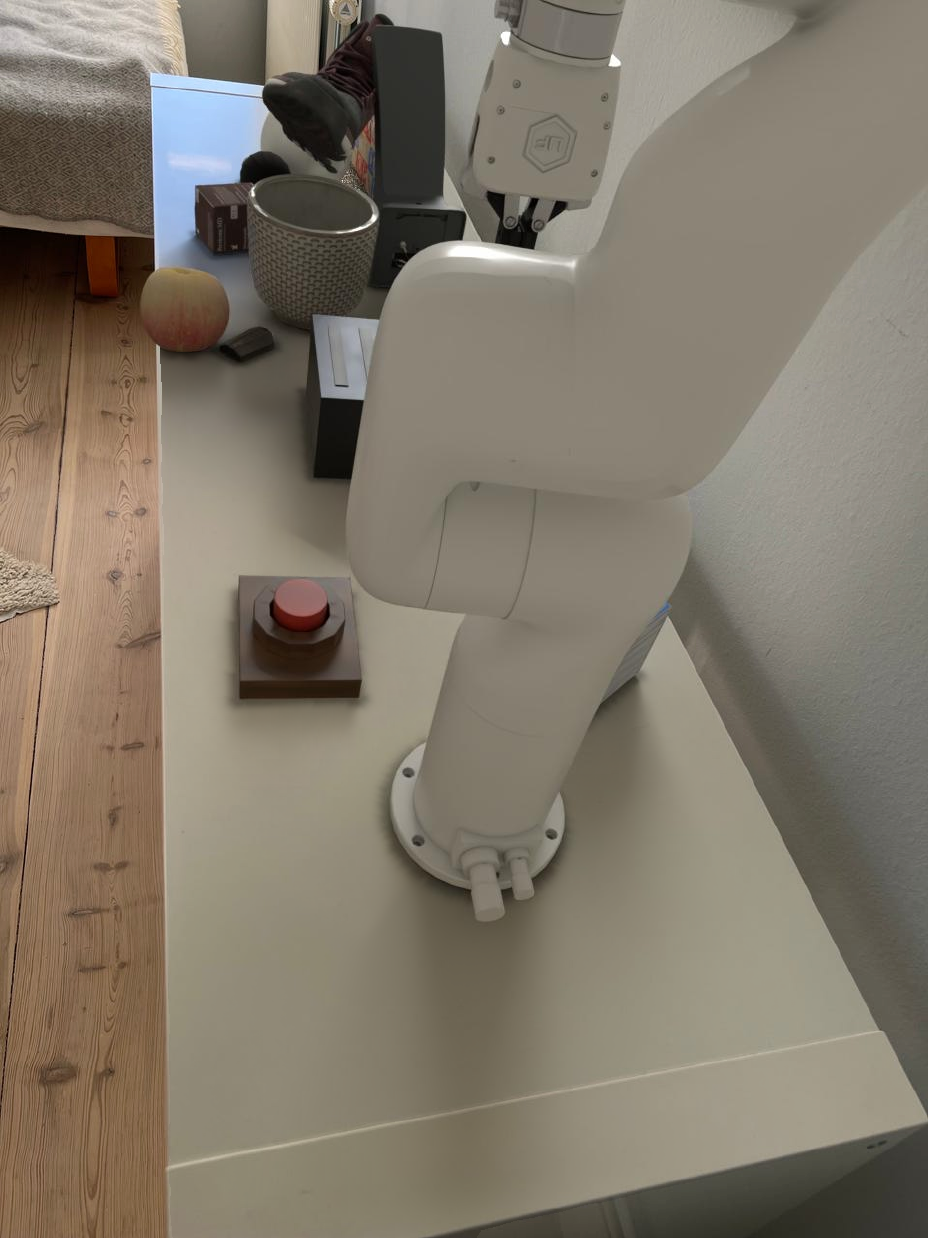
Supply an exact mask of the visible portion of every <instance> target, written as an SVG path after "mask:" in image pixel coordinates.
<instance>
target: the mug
mask: <svg viewBox="0 0 928 1238" xmlns="http://www.w3.org/2000/svg"><path fill="white" fill-rule="evenodd" d="M259 141H260V144H259V145H260V146H259V147H260V151H270V152H272V153H274V154H276V155H278V156H280V157H281V158H282V159H283V160H284V161H285V162H286V164H287V165H288V167H289V169H290V172H291V174H305V175H314V176H320V177H326V178H330V179H333V180H337V181H340V182H342V180H343V179H344V177H345V176H346V174H347V172H348V170H349V168H350V165H351V163H352V162H351V158H352V155H351V156H350V157H348V158H346V159H345V165H344V167H343V169H342V170H341V171H340V172H338V173H335V174H333V173H330V172H329V171H327V170H326V168H324V167H322V166H321V165H320V164H319V162H317V161H315V160H314V158H313V157H311V156H310V155H308V154H307V152H304V151H303V150H302V148H299V147H298V146H296V145H295V144H294V142H292V141H290V140H289V139H288V138H287V136H286V135H285V134H284V132H283V130H282V125H281V124H280V122H279V121H278V120H277V119H276V118H275V117H274V115H272V113H271V112H270V111H268V114H267V115H266V118H265V119H264V121H263V125H262V128H261V134H260V140H259Z"/></svg>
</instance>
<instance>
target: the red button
mask: <svg viewBox="0 0 928 1238" xmlns="http://www.w3.org/2000/svg"><path fill="white" fill-rule="evenodd" d="M327 601H328V598H327V594H326V592H325V591H324V589H323V588H322V587H321V586H319V585H318V584H316V583H314V582H312V581H309V580H304V579H294V580H289V581H287V582H284V583H283V584H281V585H280V586H279V587H278V588H277V590H276V591H275V594H274V607H273V614H274V617H275V619H276V621H277V622H278V623H279V624H280V625H281V626H282V627H284V628H286V629H288V630H291V631H295V632H307V631H311V630H314V629H316V628H317V627H319V626H320V625H321V624H322V623H323V622H324V620H325V617H326V609H327Z"/></svg>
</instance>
